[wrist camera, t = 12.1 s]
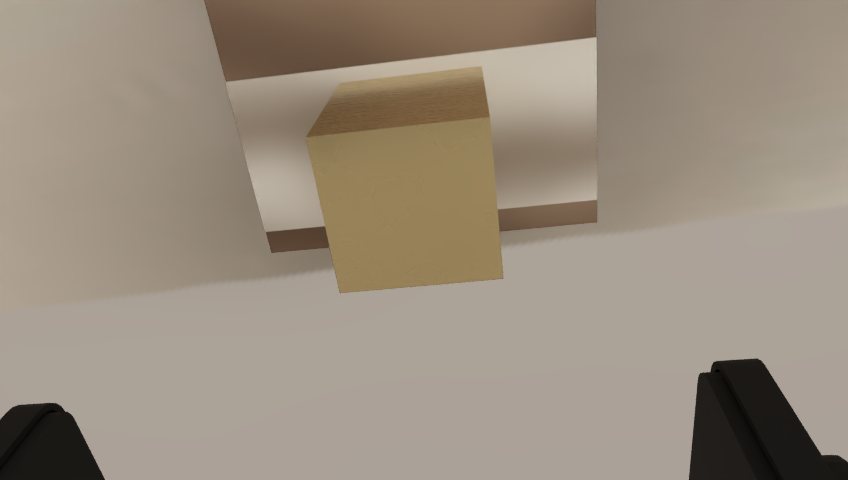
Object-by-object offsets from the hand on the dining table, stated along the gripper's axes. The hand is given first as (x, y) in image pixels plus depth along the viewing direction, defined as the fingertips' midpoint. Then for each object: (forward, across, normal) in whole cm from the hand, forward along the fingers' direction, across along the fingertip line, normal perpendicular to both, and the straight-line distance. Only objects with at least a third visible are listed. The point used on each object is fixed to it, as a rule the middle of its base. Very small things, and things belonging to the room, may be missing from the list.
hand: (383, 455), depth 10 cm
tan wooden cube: (+16, 0, +1) cm, 16 cm away
